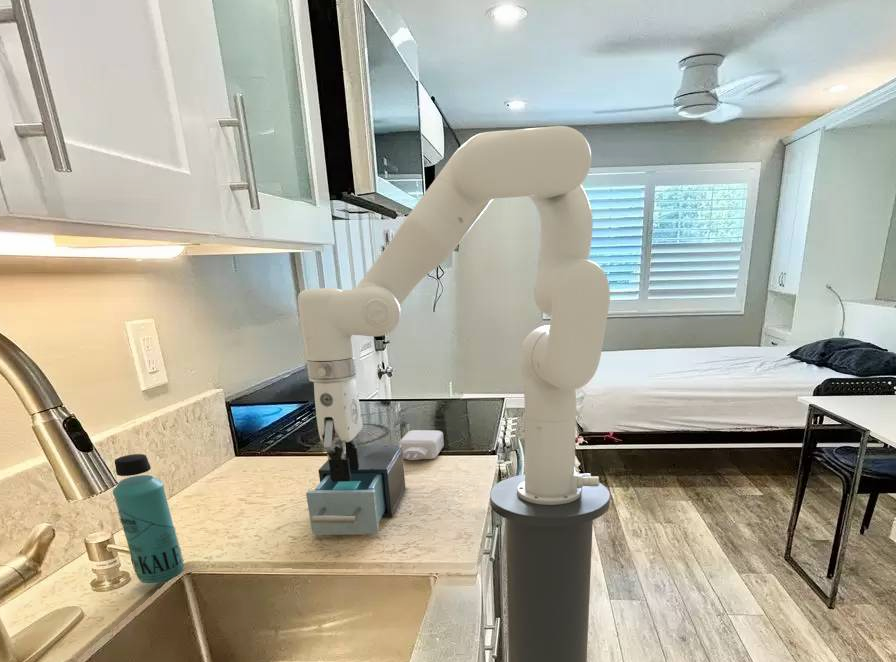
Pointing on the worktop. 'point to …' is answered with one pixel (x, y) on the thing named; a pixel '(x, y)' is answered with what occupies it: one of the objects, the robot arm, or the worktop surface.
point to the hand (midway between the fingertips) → (345, 474)
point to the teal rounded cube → (348, 485)
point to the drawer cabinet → (380, 471)
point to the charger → (421, 444)
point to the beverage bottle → (147, 521)
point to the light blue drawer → (347, 506)
